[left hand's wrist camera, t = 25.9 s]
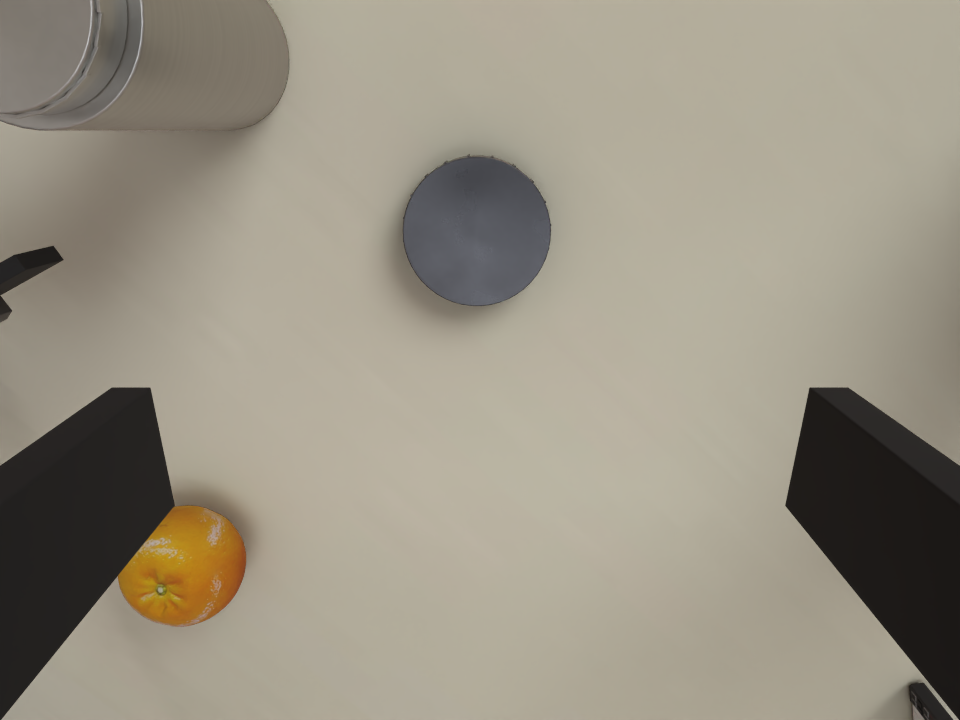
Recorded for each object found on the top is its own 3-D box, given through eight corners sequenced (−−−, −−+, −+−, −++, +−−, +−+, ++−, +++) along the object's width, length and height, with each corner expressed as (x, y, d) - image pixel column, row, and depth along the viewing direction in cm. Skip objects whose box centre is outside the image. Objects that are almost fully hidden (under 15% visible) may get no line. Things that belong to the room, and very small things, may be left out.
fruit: (193, 484, 42) (132, 602, 38) (285, 534, 47) (241, 643, 43) (133, 493, 47) (72, 599, 42) (222, 537, 52) (176, 636, 48)
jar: (175, 142, 38) (-91, 154, 20) (122, -12, 35) (-243, -156, 17) (307, 115, 37) (151, 101, 20) (264, -45, 35) (36, -227, 17)
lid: (573, 249, 40) (578, 256, 38) (457, 322, 42) (456, 332, 40) (498, 124, 38) (499, 124, 36) (378, 208, 39) (372, 212, 37)
